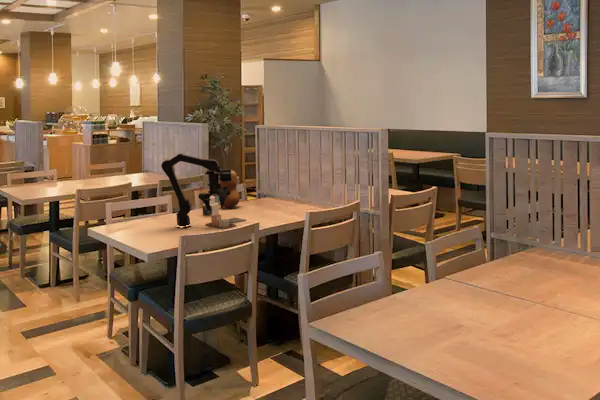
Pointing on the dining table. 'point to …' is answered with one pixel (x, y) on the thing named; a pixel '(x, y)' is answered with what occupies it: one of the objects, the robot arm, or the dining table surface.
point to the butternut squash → (231, 191)
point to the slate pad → (235, 220)
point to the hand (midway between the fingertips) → (215, 209)
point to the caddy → (220, 226)
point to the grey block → (223, 222)
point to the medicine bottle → (211, 207)
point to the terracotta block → (215, 219)
